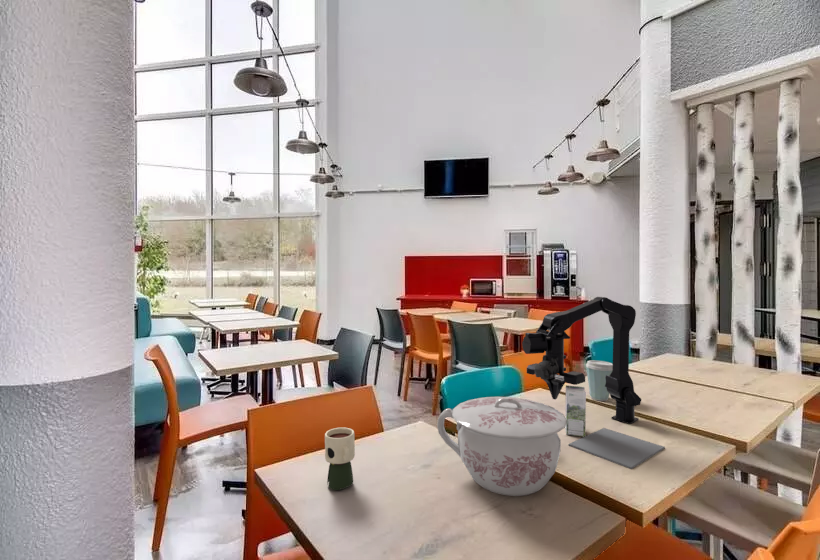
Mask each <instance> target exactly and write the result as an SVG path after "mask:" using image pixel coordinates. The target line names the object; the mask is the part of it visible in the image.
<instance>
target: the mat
mask: <svg viewBox="0 0 820 560" xmlns="http://www.w3.org/2000/svg"><path fill="white" fill-rule="evenodd" d="M568 446H569V447H571V448H574V449H577V450H580V451H583V452H585V453H588V454H590V455H592V456H596V457H599V458H601V459H604V460H606V461H609V462H612V463H614V464H617V465H619V466H622V467H625V468H628V469H631V470H633V469H634V468H635V467H637V466H639V465H641V464H642V463H643V462H645V461H646V460H649V459H650V458H652V457H653V456H655V455H657V454H658V453H660V452H662V451H663V450H665V449H666V447H665V446H663V445H660V444H658V443H654V442H651V441H648V440H644V439H641V438H637V437H635V436H631V435H628V434H626V433H621V432H619V431H616V430H612V429H610V428H606V427H603V428H601V429H598V430H596V431H594V432H592V433H589V434H588V435H585V437H581V438H579V439H576V440H575V441H572V442H569V444H568Z"/></svg>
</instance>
